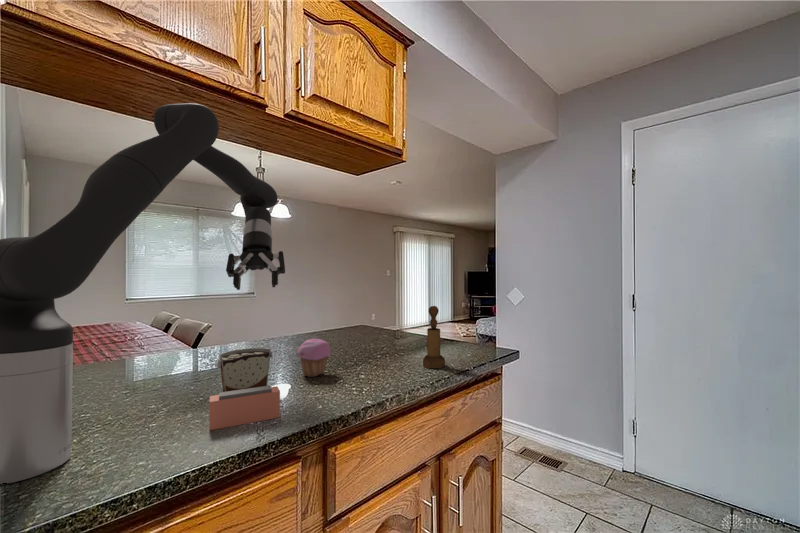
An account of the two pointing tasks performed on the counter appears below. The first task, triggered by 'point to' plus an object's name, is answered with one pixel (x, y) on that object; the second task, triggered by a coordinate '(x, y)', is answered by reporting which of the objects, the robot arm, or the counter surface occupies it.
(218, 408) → the pink and grey block
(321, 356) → the cupcake
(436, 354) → the brown tall knobbed column
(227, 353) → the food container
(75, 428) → the counter surface
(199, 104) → the robot arm
